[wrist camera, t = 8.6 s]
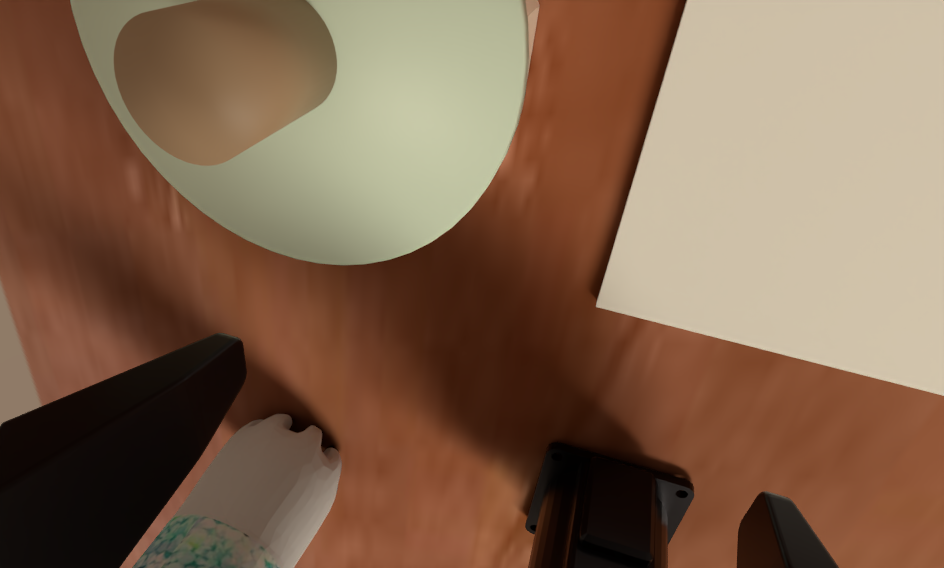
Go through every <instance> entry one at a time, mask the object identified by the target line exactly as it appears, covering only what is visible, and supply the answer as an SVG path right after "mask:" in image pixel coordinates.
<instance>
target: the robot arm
mask: <svg viewBox="0 0 944 568" xmlns="http://www.w3.org/2000/svg"><path fill="white" fill-rule="evenodd" d="M246 374H247V369H246V362H245V355H244V347H243V342H242V341H241V339H239V338H238V337H234V336H231V335H227V334H224V333H217V334H214V335H211V336H209V337H206V338H204V339H202V340H199V341H197V342H195V343H192V344H190V345H187V346H185V347H183V348H180V349H178V350H175V351H173V352H171V353H168V354H166V355H163V356H161V357H159V358H156V359H154V360H152V361H149V362H147V363H144V364H142V365H140V366H137V367H135V368H132V369H130V370H128V371H125V372H123V373H120V374H118V375H116V376H113V377H111V378H108V379H106V380H104V381H101V382H99V383H97V384H94V385H92V386H89V387H87V388H85V389H82V390H80V391H77V392H75V393H73V394H70V395H68V396H65V397H63V398H61V399H58V400H56V401H53V402H51V403H49V404H46V405H44V406H42V407H39V408H37V409H34V410H32V411H30V412H27V413H25V414H22V415H20V416H18V417H15V418H13V419H10V420H8V421H6V422H3V423H2V424H1V426H0V568H120V566H121V565H122V563H123V562H124V561H125V559H126V558H127V557H128V555H129V554H130V553H131V551H132V550H133V548H134V547H135V546H136V544H137V543H138V542H139V540H140V539H141V538H142V536H143V535H144V534H145V532H146V531H147V529H148V528H149V527H150V525H151V524H152V523H153V521H154V520H155V519H156V517H157V516H158V514H159V513H160V512H161V510H162V509H163V508H164V506H165V505H166V504H167V502H168V501H169V499H170V498H171V497H172V495H173V494H174V493H175V491H176V490H177V489H178V487H179V486H180V485H181V483H182V482H183V480H184V479H185V478H186V476H187V475H188V474H189V472H190V471H191V470H192V468H193V467H194V465H195V464H196V463H197V461H198V460H199V458H200V457H201V455H202V454H203V452H204V451H205V449H206V447H207V446H208V444H209V442H210V441H211V439H212V437H213V436H214V434H215V432H216V431H217V429H218V427H219V425H220V424H221V422H222V420H223V419H224V417H225V415H226V413H227V412H228V410H229V408H230V407H231V405H232V403H233V401H234V400H235V398H236V396H237V395H238V393H239V391H240V389H241V388H242V386H243V384H244V382H245V379H246ZM556 453H559V454H556ZM681 490H684V491H681ZM693 498H694V486H693V484H692V483H691V482H690V481H687V480H685V479H682V478H678V477H675V476H671V475H668V474H665V473H661V472H658V471H654V470H651V469H648V468H644V467H641V466H637V465H634V464H631V463H627V462H624V461H620V460H617V459H614V458H610V457H607V456H603V455H600V454H597V453H593V452H590V451H586V450H583V449H579V448H576V447H573V446H569V445H566V444H562V443H558V442H555V443H551V444H549V446H548V447H547V451H546V454H545V458H544V461H543V465H542V468H541V472H540V475H539V478H538V482H537V485H536V489H535V492H534V496H533V499H532V503H531V506H530V509H529V513H528V516H527V520H526V525H525V528H526V529H527V531H529V532H530V533H532V534H535V537H534V542H533V547H532V552H531V556H530V561H529V566H528V568H668V544H669V542H670V540H671V538H672V536H673V534H674V533H675V531H676V529H677V527H678V525H679V523H680V522H681V520H682V518H683V516H684V514H685V512H686V511H687V509H688V507H689V505H690V503H691V501H692V500H693ZM737 568H839V567H838V565H837V564H836V563H835V561H834V560H833V558H832V557H831V555H830V554H829V553H828V551H827V550H826V548H825V547H824V545H823V544H822V542H821V541H820V540H819V538H818V537H817V535H816V534H815V532H814V531H813V530H812V528H811V527H810V525H809V524H808V522H807V521H806V520H805V518H804V517H803V515H802V514H801V512H800V511H799V509H798V508H797V507H796V505H795V504H794V503H793V502H792V501H791V500H790V499H789V498H787V497H784V496H781V495H777V494H774V493H770V492H767V491H764V492H761V493H760V494H759V495H758V496H757V497H756V499H755V500H754V502H753V504H752V505H751V507H750V508H749V510H748V511H747V513H746V514H745V516H744V517H743V519H742V521H741V523H740V526H739V531H738V549H737Z"/></svg>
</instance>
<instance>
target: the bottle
mask: <svg viewBox="0 0 944 568" xmlns="http://www.w3.org/2000/svg"><path fill="white" fill-rule="evenodd" d="M291 425H292V418H291V417H290V416H289V415H287V414H275V415H273V416H271V417H269V418H267V419H265V420H262V419H258V420H254V421H251V422H250V423H248V424H247V425H245V426H243V427H242V428H240V429H239V430H238V431H237V432H236V433H235V434H234V435H233V436H232V437H231V438H230V439H229V441H228V442H227V443H226V444H225V445H224V447H223V448H222V449H221V450H220V452H219V453H218V455H217V456H216V457H215V459H214V460H213V461H212V463H211V464H210V465H209V467H208V468H207V470H206V471H205V473H204V474H203V475H202V477H201V478H200V480H199V481H198V483H197V484H196V486H195V487H194V489H193V490H192V492H191V493H190V494H189V496H188V497H187V499H186V500H185V502H184V503H183V504H182V506H181V507H180V508H179V510H178V511H177V512H176V514H175V515H174V516H173V518H172V519H171V520H170V521H169V522H168V523H167V525H166V526H165V527H164V528H163V530H162V531H161V532H160V533H159V535H158V536H157V537H156V538H155V540H154V541H153V542H152V544H151V545H150V546H149V547H148V549H147V550H146V551H145V552H144V554H143V555H142V556H141V557H140V559H139V560H138V561H137V562H136V564H135V565H134V566H133V567H132V568H294V566H295V565H296V563H297V562H298V560H299V559H300V557H301V556H302V554H303V553H304V551H305V550H306V548H307V547H308V545H309V543H310V542H311V540H312V539H313V537H314V536H315V534H316V533H317V531H318V529H319V528H320V526H321V524H322V523H323V521H324V519H325V518H326V516H327V514H328V513H329V511H330V509H331V507H332V504H333V502H334V500H335V496H336V493H337V489H338V481H339V477H340V473H341V465H342V462H341V457H340V454H339V452H338V451H337V450H336V449H334V448H332V447H331V448H327V449H326V450H325V451H324V452H322V449H321V441H322V431H321V430H320V429H319V428H317V427H316V426H314V425H311V426H309V427H308V428H307V429H306V430H304V431H302V432H299V433H295V432H293V431H290V430H289V429H290V427H291Z"/></svg>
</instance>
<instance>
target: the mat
mask: <svg viewBox="0 0 944 568" xmlns="http://www.w3.org/2000/svg"><path fill="white" fill-rule="evenodd" d="M596 307H598V308H602V309H606V310H610V311H614V312H618V313H622V314H626V315H630V316H634V317H638V318H642V319H645V320H649V321H653V322H657V323H661V324H665V325H669V326H673V327H677V328H681V329H685V330H689V331H692V332H696V333H700V334H704V335H708V336H712V337H716V338H720V339H724V340H728V341H732V342H736V343H740V344H743V345H747V346H751V347H755V348H759V349H763V350H767V351H771V352H775V353H779V354H783V355H787V356H791V357H794V358H798V359H802V360H806V361H810V362H814V363H818V364H822V365H826V366H830V367H834V368H838V369H841V370H845V371H849V372H853V373H857V374H861V375H865V376H869V377H873V378H877V379H881V380H885V381H889V382H892V383H896V384H900V385H904V386H908V387H912V388H916V389H920V390H924V391H928V392H932V393H936V394H939V395H943V396H944V0H686V3H685V7H684V10H683V13H682V17H681V20H680V23H679V27H678V30H677V34H676V37H675V40H674V44H673V47H672V50H671V54H670V57H669V60H668V64H667V67H666V70H665V74H664V77H663V80H662V84H661V87H660V91H659V94H658V97H657V101H656V104H655V107H654V111H653V114H652V117H651V121H650V124H649V127H648V131H647V134H646V137H645V141H644V144H643V148H642V151H641V154H640V158H639V161H638V164H637V168H636V171H635V174H634V178H633V181H632V184H631V188H630V191H629V194H628V198H627V201H626V205H625V208H624V211H623V215H622V218H621V221H620V225H619V228H618V231H617V235H616V238H615V241H614V245H613V248H612V251H611V255H610V258H609V262H608V265H607V268H606V272H605V275H604V278H603V282H602V285H601V288H600V292H599V295H598V298H597V302H596Z"/></svg>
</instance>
